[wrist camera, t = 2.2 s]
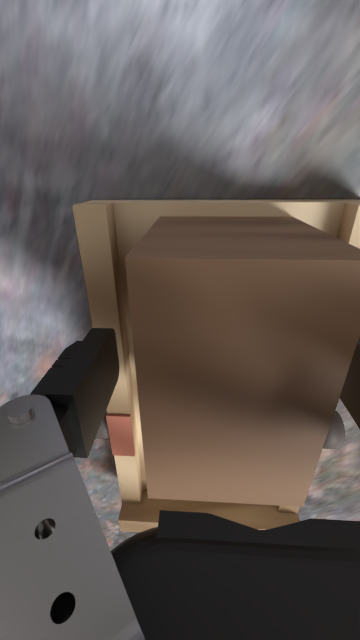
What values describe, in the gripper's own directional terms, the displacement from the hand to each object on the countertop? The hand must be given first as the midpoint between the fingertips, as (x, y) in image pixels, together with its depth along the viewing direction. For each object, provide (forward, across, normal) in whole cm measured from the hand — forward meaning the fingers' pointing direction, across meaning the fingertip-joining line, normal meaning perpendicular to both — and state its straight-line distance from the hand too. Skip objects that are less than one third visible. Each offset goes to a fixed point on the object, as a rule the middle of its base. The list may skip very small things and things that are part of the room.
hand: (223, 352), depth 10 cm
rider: (+3, 0, 0) cm, 3 cm away
